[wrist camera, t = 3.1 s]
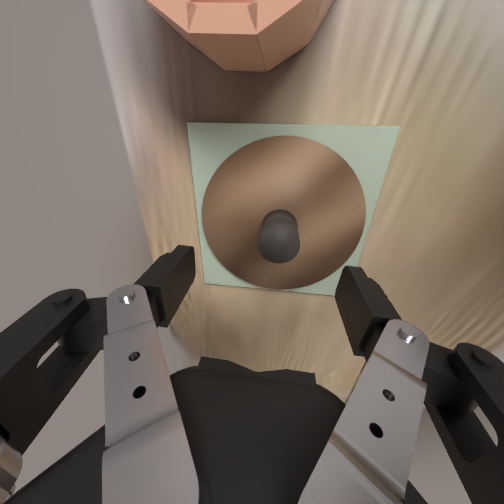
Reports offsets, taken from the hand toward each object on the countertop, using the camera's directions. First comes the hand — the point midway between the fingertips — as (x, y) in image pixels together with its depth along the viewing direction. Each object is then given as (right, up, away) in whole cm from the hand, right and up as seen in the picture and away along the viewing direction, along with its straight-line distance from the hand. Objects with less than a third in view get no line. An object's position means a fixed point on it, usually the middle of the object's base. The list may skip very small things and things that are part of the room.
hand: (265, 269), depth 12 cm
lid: (+2, +3, +7) cm, 8 cm away
